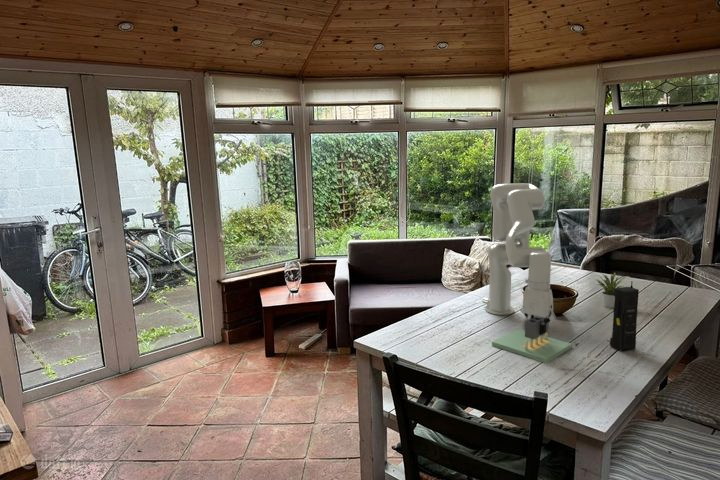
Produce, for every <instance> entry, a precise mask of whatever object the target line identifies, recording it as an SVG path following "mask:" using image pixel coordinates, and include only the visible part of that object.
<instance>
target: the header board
mask: <svg viewBox="0 0 720 480" xmlns="http://www.w3.org/2000/svg"><path fill="white" fill-rule="evenodd" d="M548 333H549V332H547V333H545V334H543V335H541V336H539V337H537V338H536V339H531V338H527V337H525V329H521V328H516V329H514V330H513V331H511V332H509V333H507V334H505V335H503V336H501V337H499V338H496V339H494V340H492V341H491V346H493V347H496V348H498V349H502V350H505V351H507V352H511V353H514V354H517V355H519V356H523V357H527V358H528V359H529V358H530V359H533V360H536V361H538V362H540V363H541V362H542V363H545V364H547V363H549V362H551V361H553V360H554V359H555V358H557V357H559V356H560V355H561V354H562V355H563V354H564V353H565V352H567V351H569V350H570V349H572V347H573V345H572V343H570V342H566V341H563V340H559V339H557V338H553V337H548Z"/></svg>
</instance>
